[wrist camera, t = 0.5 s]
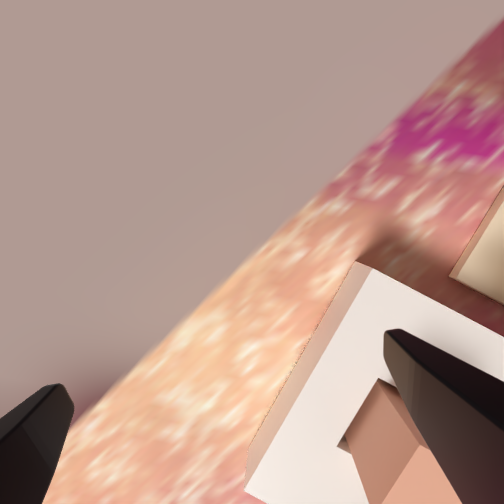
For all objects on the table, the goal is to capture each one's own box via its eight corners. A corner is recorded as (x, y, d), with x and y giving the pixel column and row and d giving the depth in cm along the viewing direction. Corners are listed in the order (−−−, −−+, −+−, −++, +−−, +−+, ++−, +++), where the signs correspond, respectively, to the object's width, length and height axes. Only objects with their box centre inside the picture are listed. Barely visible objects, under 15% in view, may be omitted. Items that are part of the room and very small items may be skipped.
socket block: (511, 343, 20) (561, 367, 16) (390, 525, 22) (414, 583, 18) (355, 260, 20) (372, 268, 17) (247, 448, 22) (243, 490, 18)
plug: (412, 387, 21) (501, 488, 13) (384, 433, 21) (452, 559, 13) (362, 361, 21) (419, 444, 13) (334, 407, 21) (373, 516, 13)
